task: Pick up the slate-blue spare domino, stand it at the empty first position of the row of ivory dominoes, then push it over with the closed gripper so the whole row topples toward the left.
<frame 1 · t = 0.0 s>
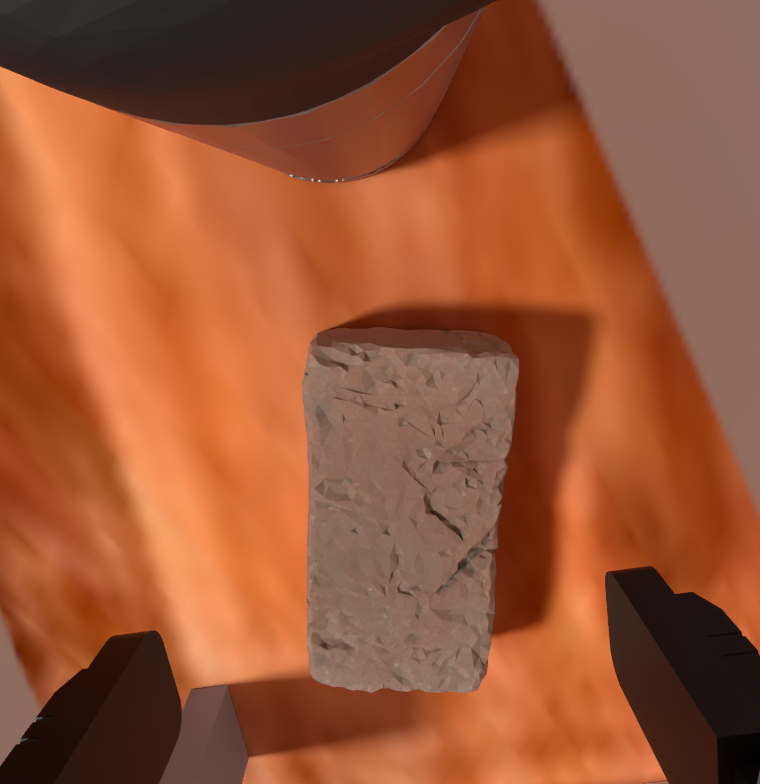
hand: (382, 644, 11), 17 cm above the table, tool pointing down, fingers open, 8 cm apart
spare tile: (220, 724, 33), on the table
brick: (403, 491, 29), on the table
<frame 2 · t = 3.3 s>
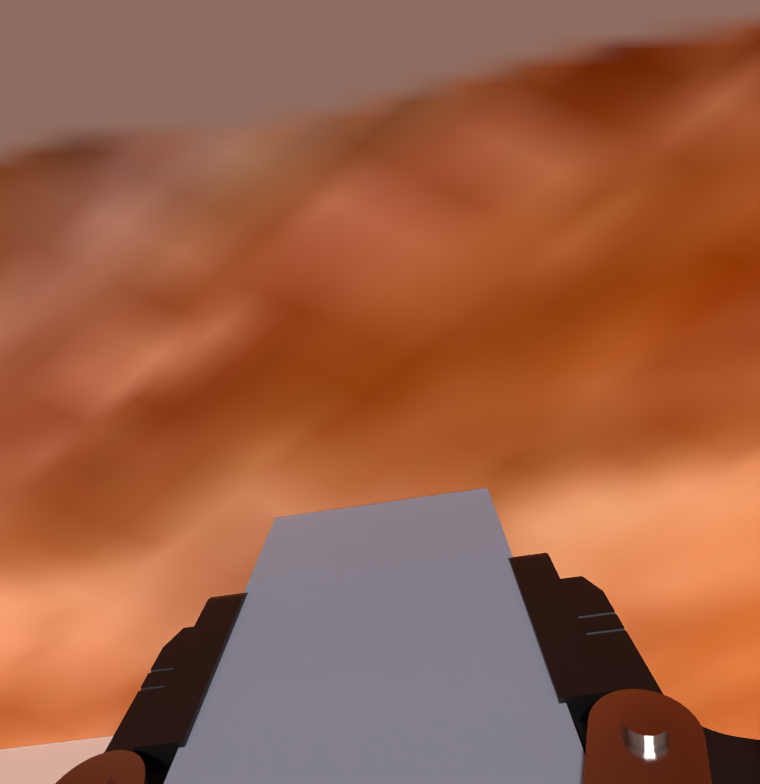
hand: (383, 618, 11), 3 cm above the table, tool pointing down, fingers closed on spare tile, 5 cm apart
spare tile: (387, 541, 14), on the table, touching gripper
tile 2: (54, 774, 16), on the table
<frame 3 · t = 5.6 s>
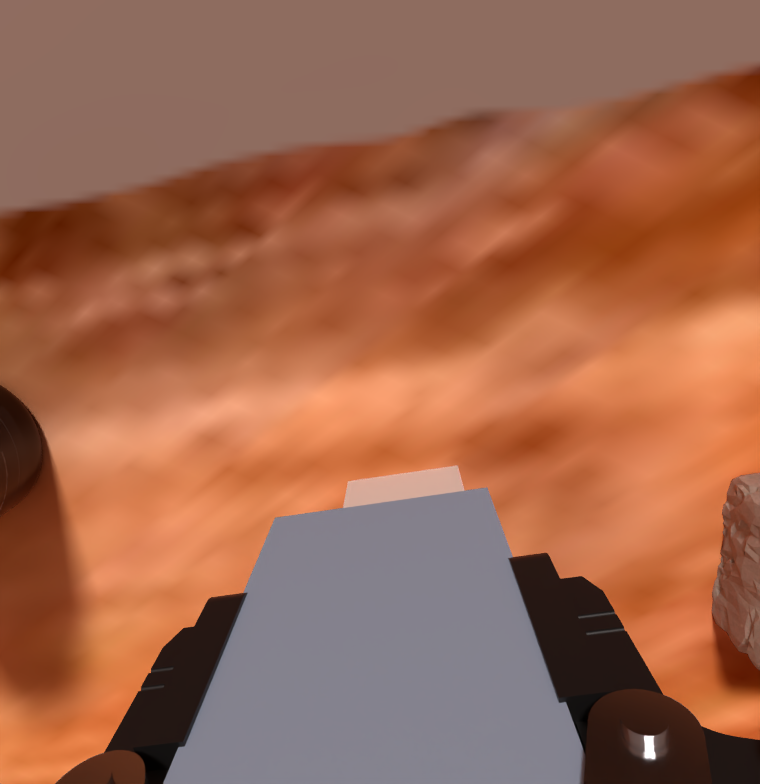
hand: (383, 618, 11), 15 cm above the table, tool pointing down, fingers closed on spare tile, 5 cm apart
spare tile: (386, 541, 14), point 12 cm above the table, touching gripper
tile 2: (405, 493, 27), on the table
when the fingers open (4 cm above the table, at t = 8.1 s): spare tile stays where it is, on the table.
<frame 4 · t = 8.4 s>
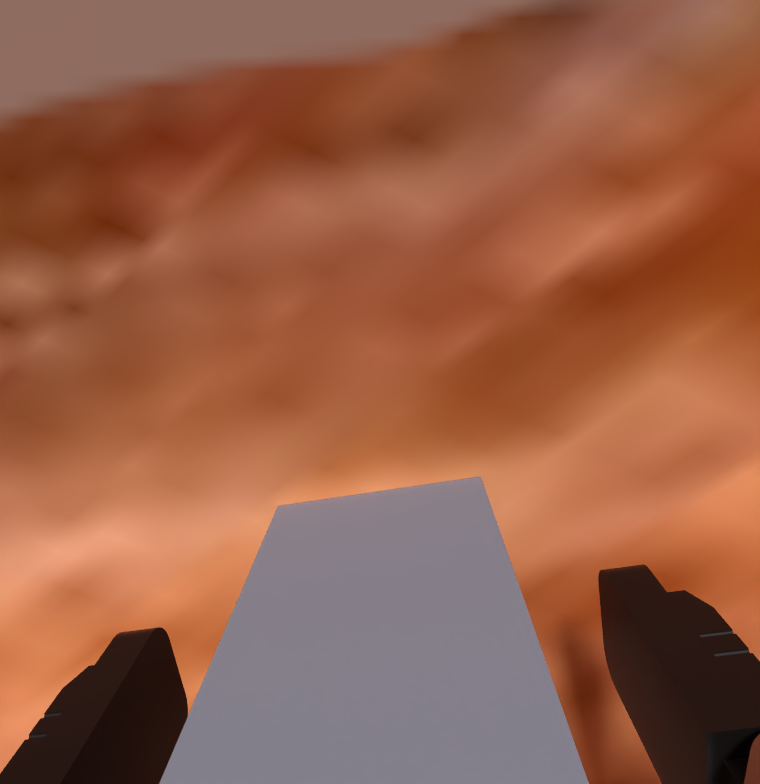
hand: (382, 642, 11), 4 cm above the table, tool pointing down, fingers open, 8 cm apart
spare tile: (384, 528, 15), on the table
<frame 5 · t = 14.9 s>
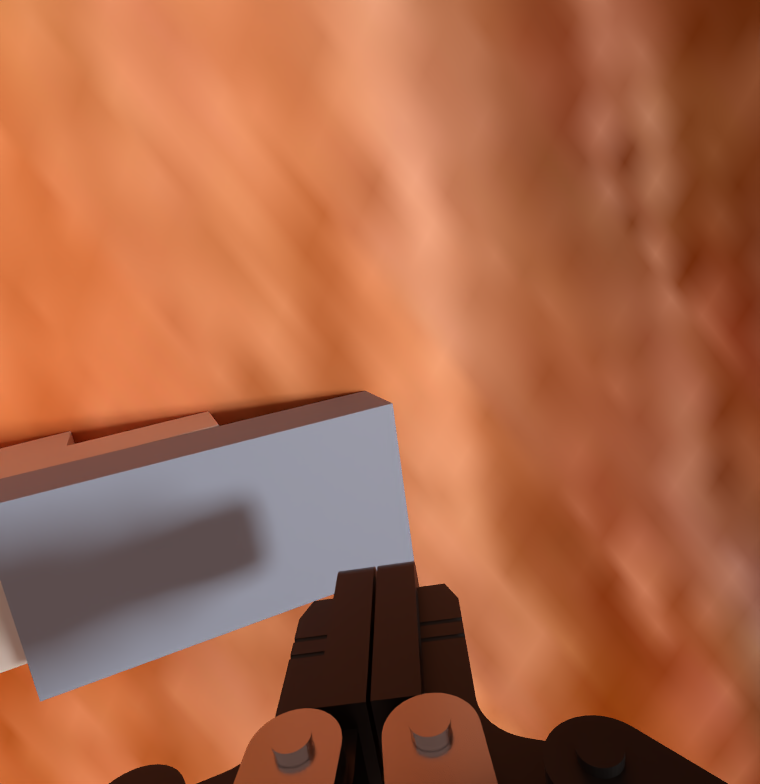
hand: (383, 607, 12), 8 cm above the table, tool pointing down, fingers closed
tile 3: (92, 513, 19), point 1 cm above the table, tilted 65°, touching tile 2, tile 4
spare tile: (389, 476, 18), point 1 cm above the table, tilted 65°, touching tile 2
tile 2: (231, 495, 18), point 1 cm above the table, tilted 65°, touching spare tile, tile 3
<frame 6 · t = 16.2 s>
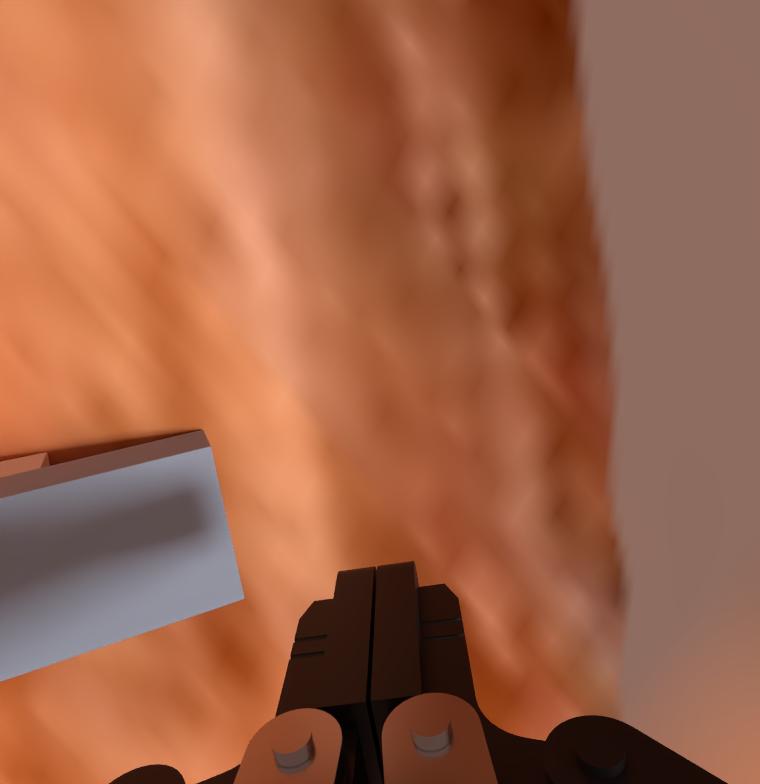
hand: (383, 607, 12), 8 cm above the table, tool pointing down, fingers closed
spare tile: (223, 512, 19), point 1 cm above the table, tilted 66°, touching tile 2
tile 2: (62, 535, 19), point 1 cm above the table, tilted 66°, touching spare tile, tile 3
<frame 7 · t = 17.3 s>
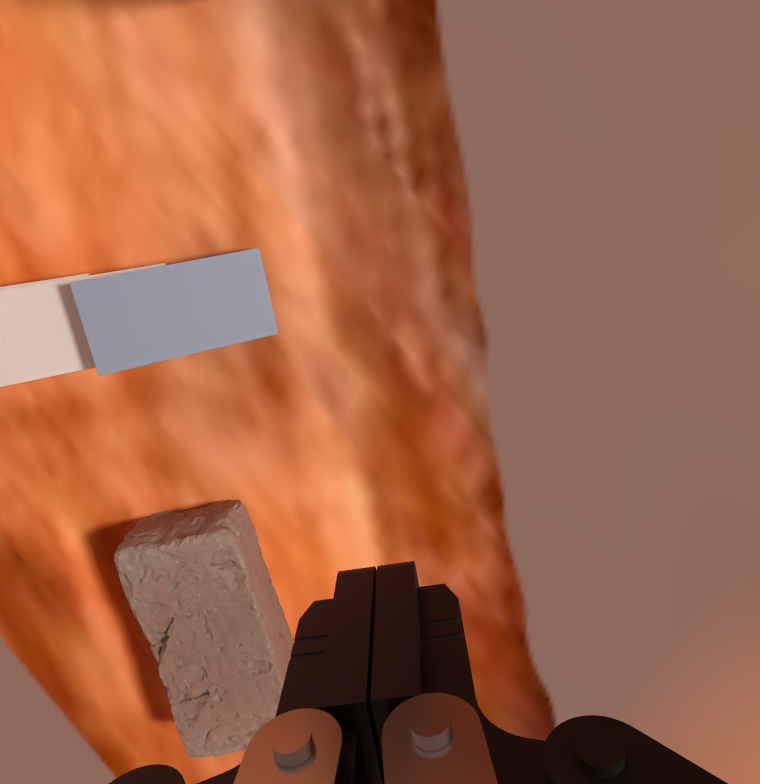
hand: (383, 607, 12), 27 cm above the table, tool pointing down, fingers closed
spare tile: (265, 291, 36), point 1 cm above the table, tilted 67°, touching tile 2
brick: (226, 606, 43), on the table
tile 2: (175, 305, 36), point 1 cm above the table, tilted 67°, touching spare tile, tile 3
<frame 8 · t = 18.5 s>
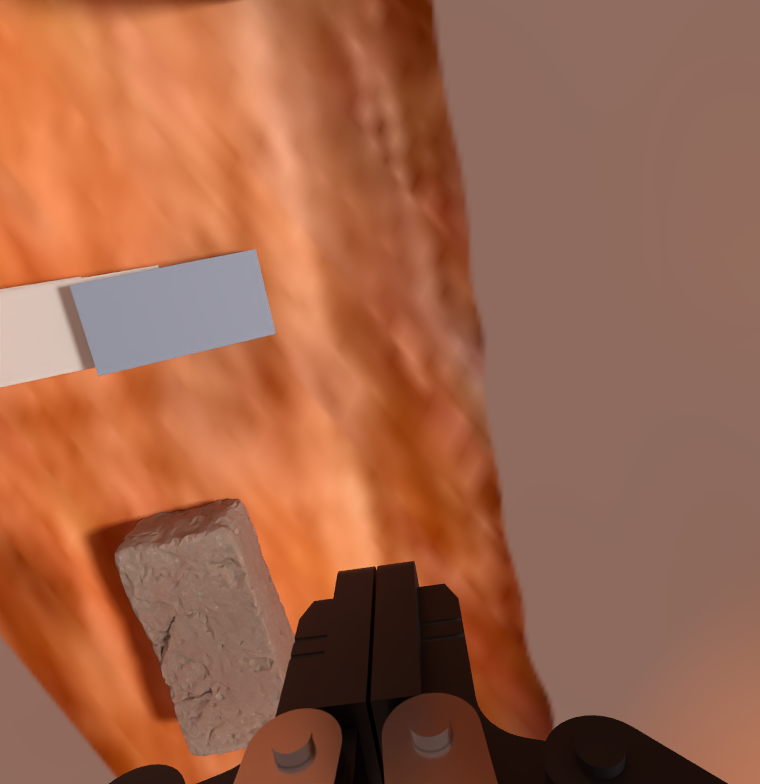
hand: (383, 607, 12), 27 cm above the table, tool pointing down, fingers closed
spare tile: (262, 291, 36), point 1 cm above the table, tilted 68°, touching tile 2
brick: (227, 605, 43), on the table
tile 2: (168, 306, 36), point 1 cm above the table, tilted 68°, touching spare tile, tile 3
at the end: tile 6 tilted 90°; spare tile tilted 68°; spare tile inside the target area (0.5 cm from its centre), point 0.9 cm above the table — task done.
